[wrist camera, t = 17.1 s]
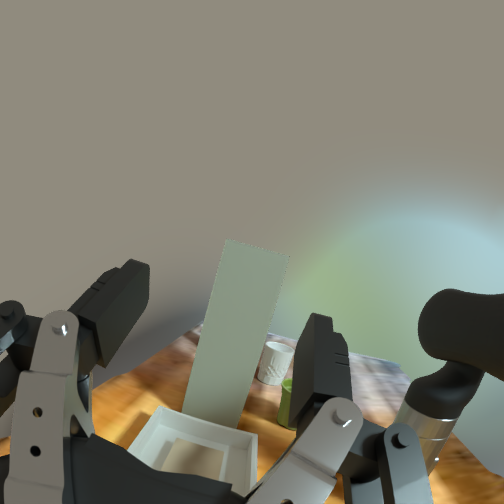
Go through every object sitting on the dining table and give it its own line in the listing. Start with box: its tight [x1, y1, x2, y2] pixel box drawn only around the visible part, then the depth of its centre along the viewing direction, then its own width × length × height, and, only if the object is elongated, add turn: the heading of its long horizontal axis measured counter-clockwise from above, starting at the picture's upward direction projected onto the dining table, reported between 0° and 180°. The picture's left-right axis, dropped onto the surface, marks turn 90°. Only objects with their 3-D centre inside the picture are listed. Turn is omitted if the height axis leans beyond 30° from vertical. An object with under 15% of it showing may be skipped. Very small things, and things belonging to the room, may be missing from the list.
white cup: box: [257, 342, 295, 386], centre depth 73 cm, size 8×8×10 cm
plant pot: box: [277, 378, 297, 430], centre depth 52 cm, size 9×9×9 cm
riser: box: [181, 239, 290, 429], centre depth 54 cm, size 10×20×32 cm, turn 178°
